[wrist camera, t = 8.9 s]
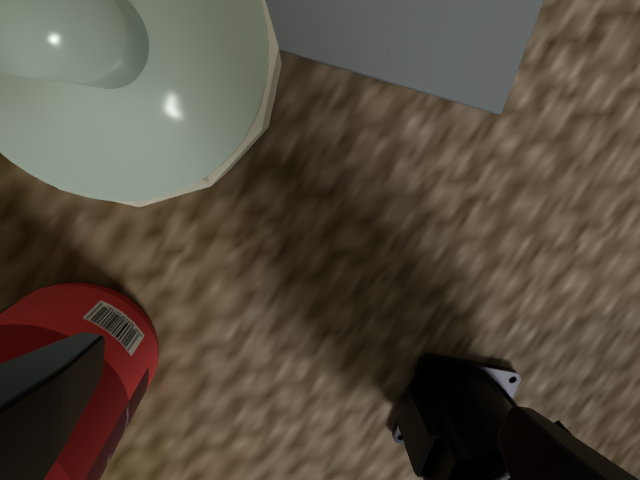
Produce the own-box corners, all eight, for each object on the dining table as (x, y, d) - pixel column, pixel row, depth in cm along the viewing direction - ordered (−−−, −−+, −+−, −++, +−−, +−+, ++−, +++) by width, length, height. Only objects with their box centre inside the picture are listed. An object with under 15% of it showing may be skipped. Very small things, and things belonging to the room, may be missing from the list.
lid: (298, -83, 12) (303, -219, 7) (239, 221, 15) (215, 271, 10) (-60, -203, 10) (-355, -472, 6) (-48, 160, 13) (-239, 183, 8)
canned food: (6, 268, 20) (-318, 440, 9) (166, 285, 21) (37, 460, 10) (18, 391, 22) (-233, 643, 11) (162, 402, 23) (52, 644, 12)
